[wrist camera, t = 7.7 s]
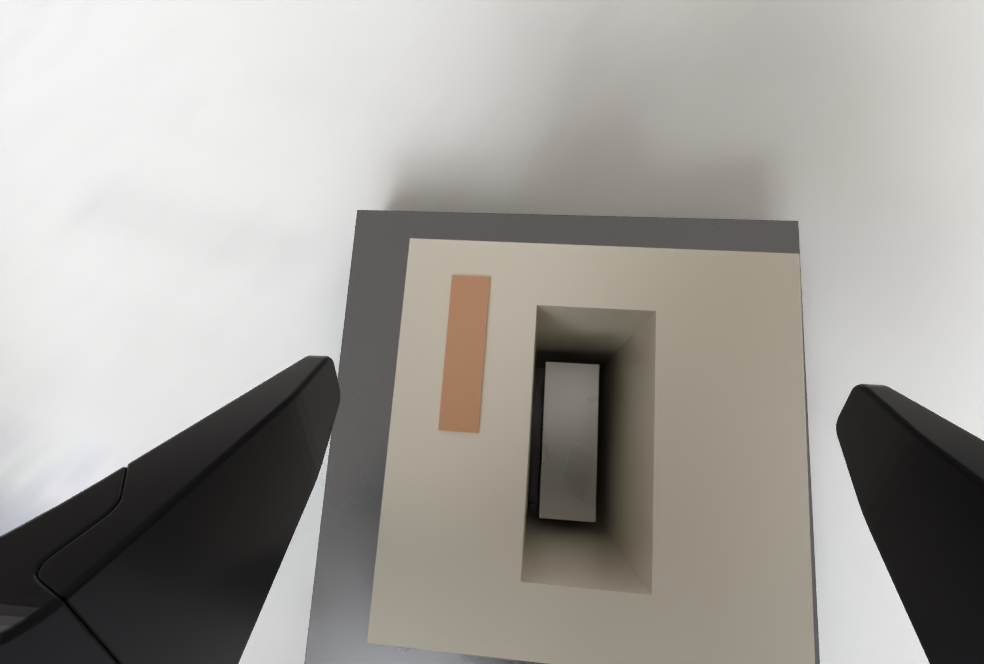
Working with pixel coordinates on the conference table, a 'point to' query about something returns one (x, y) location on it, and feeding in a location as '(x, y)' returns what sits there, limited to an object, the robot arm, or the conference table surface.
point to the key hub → (556, 417)
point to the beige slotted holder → (599, 458)
